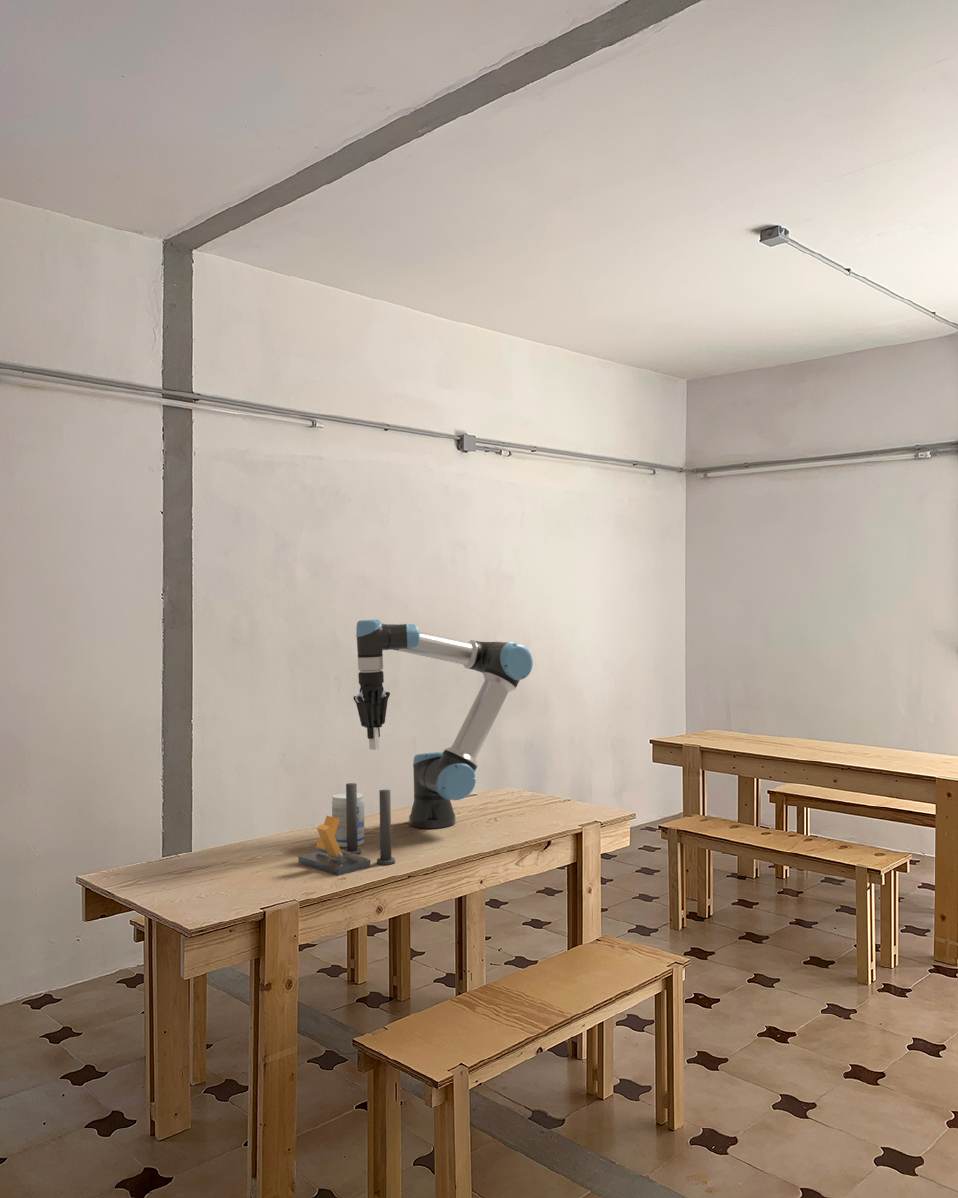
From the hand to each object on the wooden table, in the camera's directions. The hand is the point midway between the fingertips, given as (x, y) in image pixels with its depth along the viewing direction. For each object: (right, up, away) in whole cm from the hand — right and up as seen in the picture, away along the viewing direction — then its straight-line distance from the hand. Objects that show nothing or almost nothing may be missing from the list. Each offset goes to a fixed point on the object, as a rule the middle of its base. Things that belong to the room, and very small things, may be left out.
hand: (374, 749), depth 292 cm
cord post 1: (-5, -28, -13) cm, 31 cm away
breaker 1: (-7, -26, -26) cm, 38 cm away
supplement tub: (-7, -28, -2) cm, 29 cm away
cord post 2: (+6, -28, -24) cm, 37 cm away
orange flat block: (-13, -26, -21) cm, 36 cm away
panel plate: (-8, -28, -25) cm, 39 cm away
